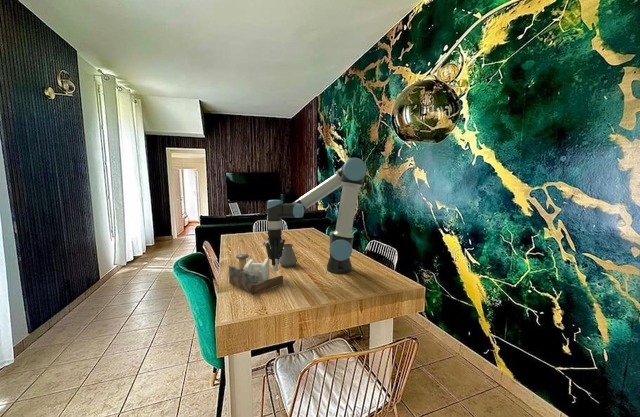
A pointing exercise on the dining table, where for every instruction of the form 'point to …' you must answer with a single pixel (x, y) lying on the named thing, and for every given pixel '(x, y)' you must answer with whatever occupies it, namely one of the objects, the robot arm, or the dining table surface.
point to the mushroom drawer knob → (242, 260)
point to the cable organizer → (258, 269)
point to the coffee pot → (287, 256)
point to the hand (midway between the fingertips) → (275, 270)
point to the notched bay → (251, 281)
